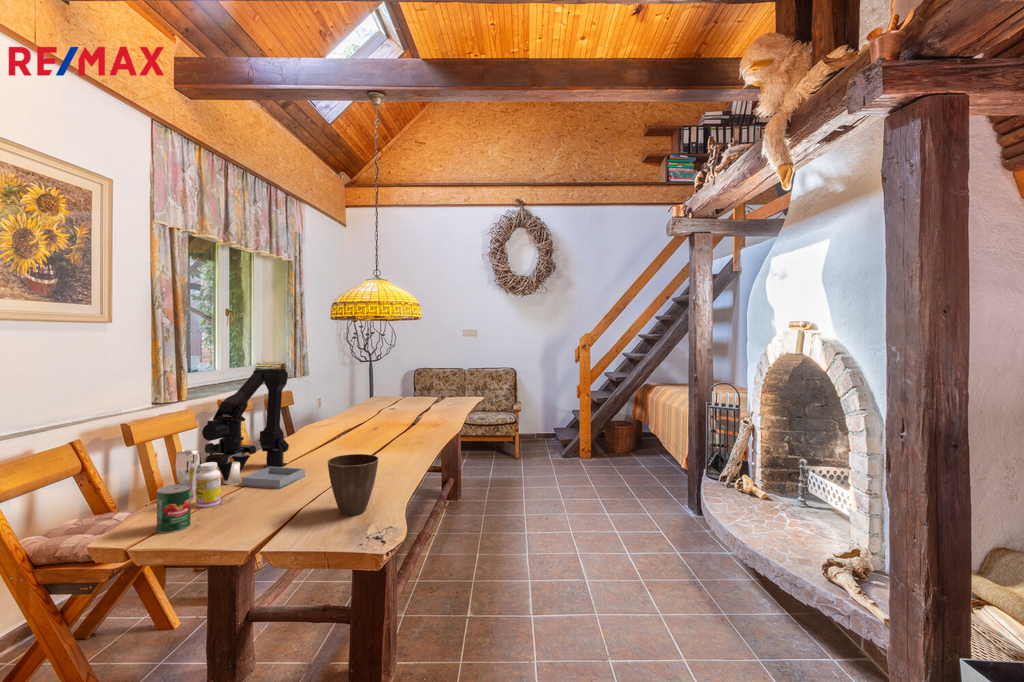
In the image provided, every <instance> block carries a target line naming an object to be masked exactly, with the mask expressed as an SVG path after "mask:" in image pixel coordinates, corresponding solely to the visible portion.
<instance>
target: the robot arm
mask: <svg viewBox="0 0 1024 682" xmlns="http://www.w3.org/2000/svg"><path fill="white" fill-rule="evenodd" d="M288 377H289V373H288V371H286V369H284V368H270V367H269V368H257V369H254V370H253V371H252V374H251V375H250V377H248V378H247V380H246V381H245V382H244V383H243V385H241V386H240V388H238V390H237V392H235V393H234V394H232V395H230V396H228V397H226V398H224V400H222V402H221V403H220V404H219V407H218V409H217V410H216V413H215V414H214V416H213V418H212V419H211V420H207V422H206V423H207V424H206V425H204V426H203V428H202V431H201V435H202V436H203V438H204V440H205V441H208V442H209V443H206V444H204V445H205V446H204V452H205V453H206V454H209V455H206V457H205V460H204V463H207V462H216V463H217V468H218V469H219V471H220V473H221V476H222V478H224V480H225V481H227V480H228V478H229V474H230V470H231V466H232V462H240V474H241V473H242V470H243V469H244V466H245V465H246V464H247V462H248V459H249V458H251V455H254V454H256V453H257V447H256V446H255V445H253V444H242V441H243V440H245V438H244V436H242V422H244V421H246V418H245V417H244V416H243V415H244V412H245V411H246V410H247V408H248V403H249V400H250V399H251V398H252V397H253V396H254V394H256V392H257V390H258V389H259V388H261V386H262V385H263V383H264V385H265V387H266V388H267V407H266V408H267V409H266V420H265V421H266V422H265V427H264V429H263V430H261V431H259V440H258V442H259V444H260V447H261V451H262V452H266V457H265V458H266V464H265V465H263V466H262V467H263V468H265V467H266V468H267V467H269V466H271V467H285V465H287V464H288V463H287V462H285V461H284V455H285V454H284V453H286V452H288V451H289V447H290V444H289V443H288V442H287V441H286V439H285V435H284V431H283V429H282V428H281V414H282V413H281V411H282V394H283V390H284V389H285V387H286V385H287V382H288ZM215 440H219V441H218V443H215V444H214V443H213V442H211V441H215ZM241 444H242V445H241ZM248 454H249V455H248ZM230 458H232V460H233V461H230Z"/></svg>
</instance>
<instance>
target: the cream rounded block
mask: <svg viewBox="0 0 1024 682" xmlns="http://www.w3.org/2000/svg"><path fill="white" fill-rule="evenodd" d="M231 462H232V466H231V470H230V474H229V478H228V480H227V481H225V480H224V478H223V477H222V478H223V480H222V482H223V485H224V484H227V485H226V486H229V485H228V484H234V485H237V484H236V483H238V484H240V483H241V482H240V481H241V473H240V462H234V461H231Z"/></svg>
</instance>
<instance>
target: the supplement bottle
mask: <svg viewBox="0 0 1024 682" xmlns="http://www.w3.org/2000/svg"><path fill="white" fill-rule="evenodd" d="M221 476H222V473H221V471H220V470H218V466H217V463H216V462H207V463H205V462H204V463H201V464H200V472H199V473H198V474H197V476H196V499H195V505H196V507H199V508H210V507H214V506H217V505H218V504H220V503H221V500H222V499H221V497H222V496H221V488H222V487H221V486H222V485H221V482H222V481H221V480H222V479H221V478H222V477H221Z"/></svg>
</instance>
